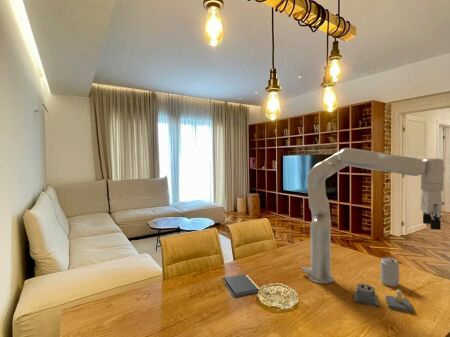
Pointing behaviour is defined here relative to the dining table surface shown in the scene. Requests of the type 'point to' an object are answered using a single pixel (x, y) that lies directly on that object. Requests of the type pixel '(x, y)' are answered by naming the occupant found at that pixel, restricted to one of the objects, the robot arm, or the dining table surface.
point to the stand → (357, 300)
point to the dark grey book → (241, 285)
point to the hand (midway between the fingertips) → (431, 226)
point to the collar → (365, 293)
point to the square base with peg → (399, 302)
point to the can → (389, 272)
